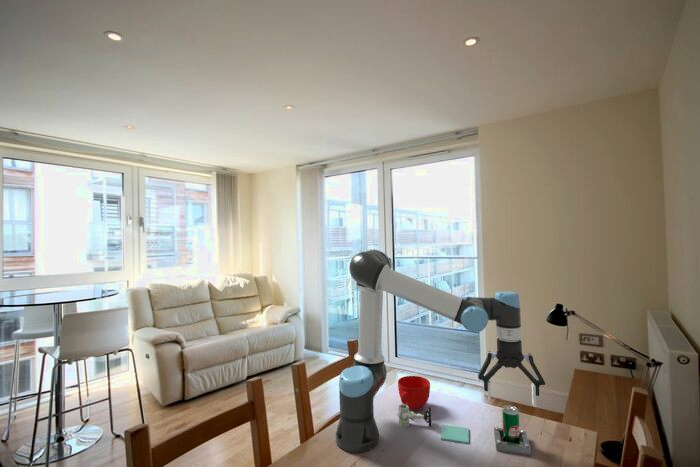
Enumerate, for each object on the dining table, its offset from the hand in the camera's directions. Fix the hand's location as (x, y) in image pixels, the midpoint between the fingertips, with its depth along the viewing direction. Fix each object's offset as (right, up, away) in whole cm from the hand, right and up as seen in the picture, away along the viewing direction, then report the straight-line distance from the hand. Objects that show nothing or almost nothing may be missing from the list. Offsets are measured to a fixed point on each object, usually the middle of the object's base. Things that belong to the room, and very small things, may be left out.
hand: (511, 403), depth 119 cm
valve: (-30, -15, +14) cm, 36 cm away
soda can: (0, -14, 0) cm, 14 cm away
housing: (0, -14, 0) cm, 14 cm away
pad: (-17, -14, +7) cm, 23 cm away
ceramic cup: (-28, -15, +26) cm, 41 cm away
